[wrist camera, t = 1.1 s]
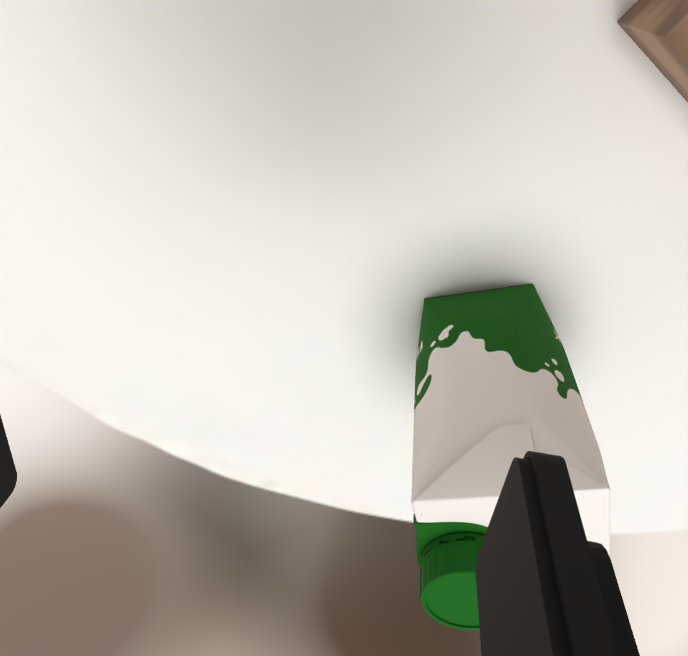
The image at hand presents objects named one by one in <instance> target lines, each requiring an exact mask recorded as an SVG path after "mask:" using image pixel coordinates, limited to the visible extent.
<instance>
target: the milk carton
mask: <svg viewBox="0 0 688 656" xmlns="http://www.w3.org/2000/svg"><path fill="white" fill-rule="evenodd" d="M527 451H533V452H540V453H546V454H552V455H558V456H562V457H563V458H564V459H565V462H566V465H567V468H568V472H569V476H570V479H571V483H572V487H573V490H574V494H575V498H576V502H577V505H578V509H579V513H580V516H581V520H582V524H583V527H584V531H585V535H586V538H587V541H592V542H597V543H600V544H602V545H603V546H604V547H605V549H606V550H607V552H608V555H609V557H610V488H609V484H608V481H607V477H606V473H605V469H604V465H603V461H602V457H601V453H600V450H599V447H598V444H597V441H596V438H595V435H594V432H593V430H592V427H591V424H590V421H589V418H588V415H587V412H586V410H585V407H584V404H583V401H582V398H581V395H580V392H579V390H578V387H577V384H576V381H575V378H574V375H573V373H572V370H571V367H570V364H569V361H568V358H567V356H566V353H565V350H564V348H563V345H562V343H561V341H560V339H559V337H558V335H557V333H556V331H555V329H554V327H553V324H552V322H551V320H550V318H549V316H548V314H547V312H546V310H545V308H544V306H543V304H542V302H541V300H540V298H539V296H538V294H537V291H536V289H535V287H534V285H533V284H529V285H522V286H515V287H508V288H500V289H493V290H486V291H478V292H471V293H464V294H456V295H449V296H442V297H434V298H427V299H424V306H423V314H422V321H421V329H420V336H419V344H418V352H417V361H416V376H415V405H414V436H413V470H412V497H411V502H412V506H413V510H414V525H415V529H416V533H417V535H416V553H417V560H418V564H419V567H420V598H421V604H422V606H423V608H424V610H425V611H426V613H427V614H428V615H429V616H430V617H432V618H433V619H434V620H436V621H437V622H440V623H441V624H443V625H446V626H449V627H452V628H456V629H462V630H480V627H479V613H478V600H477V587H476V561H477V556H478V553H479V550H480V547H481V544H482V542H483V539H484V536H485V534H486V531H487V528H488V525H489V523H490V520H491V517H492V515H493V512H494V509H495V506H496V504H497V501H498V498H499V495H500V493H501V490H502V487H503V485H504V482H505V479H506V476H507V474H508V471H509V468H510V466H511V463H512V461H513V459H514V458H515V457H517V458H524V455H525V453H526V452H527Z"/></svg>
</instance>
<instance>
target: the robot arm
mask: <svg viewBox="0 0 688 656" xmlns="http://www.w3.org/2000/svg"><path fill="white" fill-rule="evenodd" d="M16 481H17V472H16V469H15V465H14V462H13V458H12V454H11V451H10V447H9V444H8V440H7V437H6V433H5V430H4V426H3V423H2V419H1V416H0V507H1V506H2V505H3V504H4V503H5V501H6V500H7V499H8V497H9V496H10V495H11V493H12V492H13V490H14V488H15V485H16ZM476 587H477V600H478V613H479V627H480V640H481V653H482V656H640V655H639V652H638V649H637V645H636V642H635V639H634V635H633V632H632V629H631V626H630V623H629V619H628V616H627V612H626V609H625V606H624V603H623V599H622V596H621V593H620V590H619V586H618V583H617V579H616V576H615V573H614V569H613V566H612V563H611V560H610V557H609V555H608V552H607V550H606V549H605V547H604V546H603V545H602V544H600V543H597V542H592V541H587V538H586V535H585V531H584V527H583V524H582V520H581V516H580V513H579V509H578V505H577V502H576V498H575V494H574V490H573V487H572V483H571V479H570V476H569V472H568V468H567V465H566V462H565V459H564V458H563V457H562V456H558V455H552V454H546V453H540V452H533V451H527V452H526V453H525V455H524V458H517V457H515V458H514V459H513V461H512V463H511V466H510V468H509V471H508V474H507V476H506V479H505V482H504V485H503V487H502V490H501V493H500V495H499V498H498V501H497V504H496V506H495V509H494V512H493V515H492V517H491V520H490V523H489V525H488V528H487V531H486V534H485V536H484V539H483V542H482V544H481V547H480V550H479V553H478V556H477V561H476Z"/></svg>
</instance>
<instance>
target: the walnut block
mask: <svg viewBox="0 0 688 656" xmlns="http://www.w3.org/2000/svg"><path fill="white" fill-rule="evenodd" d="M617 23H618V24H619V25H620V26H621V27H622V28H623V29H624V31H625V32H626V33H627V34H628V35H629V36H630V37H631V38H632V40H633V41H634V42H635V43H636V44H637V45H638V46H639V48H640V49H641V50H642V51H643V52H644V53H645V54H646V55H647V57H648V58H649V59H650V60H651V61H652V62H653V63H654V64H655V66H656V67H657V68H658V69H659V70H660V71H661V72H662V74H663V75H664V76H665V77H666V78H667V79H668V80H669V81H670V83H671V84H672V85H673V86H674V87H675V88H676V89H677V90H678V92H679V93H680V94H681V95H682V96H683V97H684V98H685V100H686V101H687V102H688V0H639V1H638V2H637V3H636V4H635V5H634V6H633V7H632V8H631V9H630V10H629V11H628V12H627V13H626V14H625V15H624V16H623V17H622V18H621V19H620V20H619V21H618V22H617Z"/></svg>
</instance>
